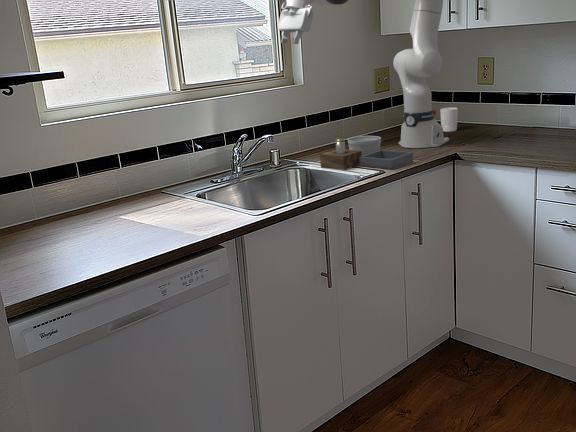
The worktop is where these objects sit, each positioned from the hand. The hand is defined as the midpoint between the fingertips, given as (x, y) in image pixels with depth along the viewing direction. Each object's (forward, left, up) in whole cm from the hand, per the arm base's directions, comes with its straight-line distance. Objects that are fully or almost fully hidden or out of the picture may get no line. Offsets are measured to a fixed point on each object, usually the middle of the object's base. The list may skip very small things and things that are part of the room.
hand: (289, 43), depth 230 cm
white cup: (-87, +16, -46) cm, 99 cm away
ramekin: (-26, +13, -46) cm, 54 cm away
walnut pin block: (-7, +16, -45) cm, 49 cm away
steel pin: (-7, +16, -45) cm, 49 cm away
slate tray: (-16, +30, -45) cm, 57 cm away
